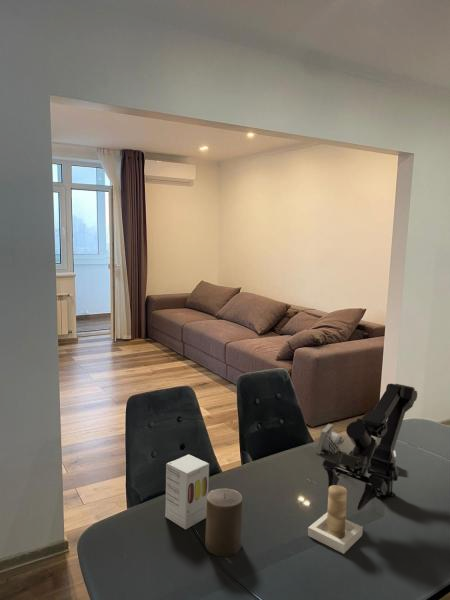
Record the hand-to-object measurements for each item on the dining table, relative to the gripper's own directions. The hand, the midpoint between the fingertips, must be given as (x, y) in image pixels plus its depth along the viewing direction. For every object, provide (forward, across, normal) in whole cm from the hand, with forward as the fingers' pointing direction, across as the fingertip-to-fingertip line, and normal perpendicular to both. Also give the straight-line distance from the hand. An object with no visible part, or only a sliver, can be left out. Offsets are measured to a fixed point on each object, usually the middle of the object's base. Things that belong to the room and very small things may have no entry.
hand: (343, 503), depth 129 cm
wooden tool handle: (+8, 0, +2) cm, 8 cm away
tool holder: (+8, 0, +3) cm, 9 cm away
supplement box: (+25, -37, -14) cm, 46 cm away
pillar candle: (+26, -20, -15) cm, 36 cm away
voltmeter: (-21, -25, +33) cm, 47 cm away
